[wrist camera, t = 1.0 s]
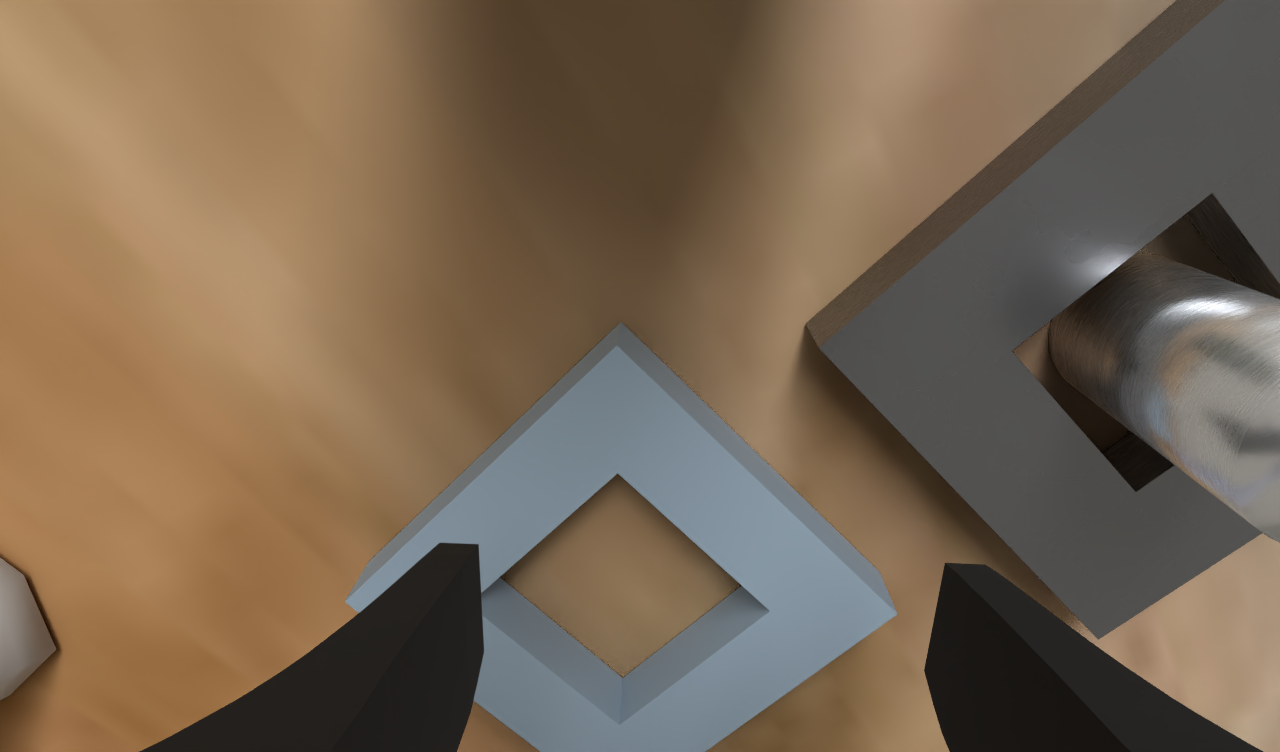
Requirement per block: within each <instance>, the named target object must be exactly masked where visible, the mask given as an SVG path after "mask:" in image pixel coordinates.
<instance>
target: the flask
mask: <svg viewBox="0 0 1280 752" xmlns="http://www.w3.org/2000/svg"><path fill="white" fill-rule="evenodd" d="M55 650H56V647H55V645H54V643H53V641H52V638H51V636H50V634H49V632H48V629H47V627H46V625H45V622H44V620H43V618H42V616H41V613H40V611H39V609H38V607H37V604H36V602H35V600H34V597H33V595H32V593H31V591H30V588H29V586H28V584H27V581H26V579H25V577H24V575H23V574H22V573H20V572H19V571H18V570H16V569H15V568H14V567H12V566H11V565H9V564H8V563H7V562H5V561H4V560H3V559H1V558H0V700H2V699H4V698H6V697H8V696H10V695H11V694H12V693H13V692H14V691H15V690H16V689H17V688H18V687H19V686H20V685H21V684H22V683H23V682H24V681H25V680H26V679H27V678H28V677H29V676H30V675H31V674H32V673H33V672H34V671H35V670H36V669H37V668H38V667H39V666H40V665H41V664H42V663H43V662H44V661H45V660H46V659H47V658H48V657H49V656H50V655H51V654H52V653H53V652H54V651H55Z"/></svg>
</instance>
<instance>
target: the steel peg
mask: <svg viewBox="0 0 1280 752" xmlns="http://www.w3.org/2000/svg"><path fill="white" fill-rule="evenodd" d="M1049 349H1050V354H1051V358H1052V361H1053V363H1054V365H1055V367H1056V369H1057V371H1058V372H1059V373H1060V375H1061V376H1062V377H1063V378H1064V379H1065V380H1066V381H1067V382H1068V383H1069V384H1070V385H1072V386H1073V387H1074V388H1075V389H1077V390H1078V391H1079V392H1081V393H1082V394H1083V395H1085V396H1086V397H1087V398H1088V399H1090V400H1091V401H1092V402H1094V403H1095V404H1096V405H1097V406H1099V407H1100V408H1101V409H1103V410H1104V411H1105V412H1107V413H1108V414H1109V415H1110V416H1112V417H1113V418H1114V419H1116V420H1117V421H1118V422H1120V423H1121V424H1122V425H1123V426H1125V427H1126V428H1127V429H1129V430H1130V431H1131V432H1132V433H1134V434H1135V435H1136V436H1138V437H1139V438H1140V439H1142V440H1143V441H1144V442H1145V443H1147V444H1148V445H1149V446H1151V447H1152V448H1153V449H1155V450H1156V451H1157V452H1158V453H1160V454H1161V455H1162V456H1164V457H1165V458H1166V459H1167V460H1169V461H1170V462H1171V463H1173V464H1174V465H1175V466H1177V467H1178V468H1179V469H1180V470H1182V471H1183V472H1184V473H1186V474H1187V475H1188V476H1190V477H1191V478H1192V479H1193V480H1195V481H1196V482H1197V483H1199V484H1200V485H1201V486H1202V487H1204V488H1205V489H1206V490H1208V491H1209V492H1210V493H1212V494H1213V495H1214V496H1215V497H1217V498H1218V499H1219V500H1221V501H1222V502H1223V503H1225V504H1226V505H1227V506H1228V507H1230V508H1231V509H1232V510H1234V511H1235V512H1236V513H1237V514H1239V515H1240V516H1241V517H1243V518H1244V519H1245V520H1247V521H1248V522H1249V523H1250V524H1252V525H1253V526H1254V527H1256V528H1257V529H1258V530H1260V531H1261V532H1262V533H1264V534H1265V535H1267V536H1268V537H1270V538H1272V539H1274V540H1276V541H1278V542H1280V299H1277V298H1275V297H1272V296H1269V295H1266V294H1264V293H1261V292H1258V291H1256V290H1253V289H1250V288H1248V287H1245V286H1242V285H1239V284H1237V283H1234V282H1231V281H1229V280H1226V279H1223V278H1221V277H1218V276H1215V275H1212V274H1210V273H1207V272H1204V271H1202V270H1199V269H1196V268H1194V267H1191V266H1188V265H1185V264H1183V263H1180V262H1177V261H1175V260H1172V259H1169V258H1166V257H1164V256H1159V255H1155V254H1144V253H1143V254H1134V255H1133V256H1131V257H1130V258H1129V259H1128V260H1126V261H1125V262H1124V263H1123V264H1121V265H1120V266H1119V267H1117V268H1116V269H1115V270H1114V271H1112V272H1111V273H1110V274H1109V275H1107V276H1106V277H1105V278H1103V279H1102V280H1101V281H1100V282H1098V283H1097V284H1096V285H1095V286H1093V287H1092V288H1091V289H1090V290H1088V291H1087V292H1086V293H1084V294H1083V295H1082V296H1081V297H1079V298H1078V299H1077V300H1076V301H1074V302H1073V303H1072V304H1071V305H1069V306H1068V307H1067V308H1065V309H1064V310H1063V311H1062V312H1060V313H1059V314H1058V315H1057V316H1055V317H1054V318H1053V319H1052V321H1051V325H1050V331H1049Z"/></svg>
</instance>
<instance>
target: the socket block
mask: <svg viewBox="0 0 1280 752" xmlns="http://www.w3.org/2000/svg"><path fill="white" fill-rule="evenodd" d="M1185 214H1186V215H1187V217H1188V218H1189V219H1190V220H1191V222H1192V223H1193V224H1194V226H1195V227H1196V228H1197V230H1198V231H1199V232H1200V234H1201V235H1202V236H1203V238H1204V239H1205V240H1206V242H1207V243H1208V244H1209V246H1210V247H1211V248H1212V250H1213V251H1214V252H1215V253H1216V255H1217V256H1218V257H1219V259H1220V260H1221V261H1222V263H1223V264H1224V265H1225V267H1226V268H1227V269H1228V271H1229V272H1230V273H1231V275H1232V276H1233V277H1234V279H1235V280H1236V281H1237V283H1238V284H1239V285H1242V286H1245V287H1248V288H1250V289H1253V290H1256V291H1258V292H1261V293H1264V294H1266V295H1269V296H1272V297H1275V298H1277V299H1280V0H1177V1H1175V2H1174V3H1173V4H1172V5H1171V6H1170V7H1168V8H1167V9H1166V10H1165V11H1164V12H1163V13H1162V14H1160V15H1159V16H1158V17H1157V18H1156V19H1155V20H1154V21H1152V22H1151V23H1150V24H1149V25H1148V26H1147V27H1146V28H1144V29H1143V30H1142V31H1141V32H1140V33H1139V34H1138V35H1136V36H1135V37H1134V38H1133V39H1132V40H1131V41H1130V42H1128V43H1127V44H1126V45H1125V46H1124V47H1123V48H1121V49H1120V50H1119V51H1118V52H1117V53H1116V54H1115V55H1113V56H1112V57H1111V58H1110V59H1109V60H1108V61H1107V62H1105V63H1104V64H1103V65H1102V66H1101V67H1100V68H1099V69H1097V70H1096V71H1095V72H1094V73H1093V74H1092V75H1091V76H1089V77H1088V78H1087V79H1086V80H1085V81H1084V82H1082V83H1081V84H1080V85H1079V86H1078V87H1077V88H1076V89H1074V90H1073V91H1072V92H1071V93H1070V94H1069V95H1068V96H1066V97H1065V98H1064V99H1063V100H1062V101H1061V102H1060V103H1058V104H1057V105H1056V106H1055V107H1054V108H1053V109H1052V110H1050V111H1049V112H1048V113H1047V114H1046V115H1045V116H1044V117H1042V118H1041V119H1040V120H1039V121H1038V122H1037V123H1035V124H1034V125H1033V126H1032V127H1031V128H1030V129H1029V130H1027V131H1026V132H1025V133H1024V134H1023V135H1022V136H1021V137H1019V138H1018V139H1017V140H1016V141H1015V142H1014V143H1013V144H1011V145H1010V146H1009V147H1008V148H1007V149H1006V150H1005V151H1003V152H1002V153H1001V154H1000V155H999V156H998V157H997V158H995V159H994V160H993V161H992V162H991V163H990V164H988V165H987V166H986V167H985V168H984V169H983V170H982V171H980V172H979V173H978V174H977V175H976V176H975V177H974V178H972V179H971V180H970V181H969V182H968V183H967V184H966V185H964V186H963V187H962V188H961V189H960V190H959V191H958V192H956V193H955V194H954V195H953V196H952V197H951V198H950V199H948V200H947V201H946V202H945V203H944V204H943V205H941V206H940V207H939V208H938V209H937V210H936V211H935V212H933V213H932V214H931V215H930V216H929V217H928V218H927V219H925V220H924V221H923V222H922V223H921V224H920V225H919V226H917V227H916V228H915V229H914V230H913V231H912V232H911V233H909V234H908V235H907V236H906V237H905V238H904V239H903V240H901V241H900V242H899V243H898V244H897V245H896V246H894V247H893V248H892V249H891V250H890V251H889V252H888V253H886V254H885V255H884V256H883V257H882V258H881V259H880V260H878V261H877V262H876V263H875V264H874V265H873V266H872V267H870V268H869V269H868V270H867V271H866V272H865V273H864V274H862V275H861V276H860V277H859V278H858V279H857V280H855V281H854V282H853V283H852V284H851V285H850V286H849V287H847V288H846V289H845V290H844V291H843V292H842V293H841V294H839V295H838V296H837V297H836V298H835V299H834V300H833V301H831V302H830V303H829V304H828V305H827V306H826V307H825V308H823V309H822V310H821V311H820V312H819V313H818V314H817V315H815V316H814V317H813V318H812V319H811V320H810V321H808V322H807V323H806V326H807V328H808V329H809V331H810V333H811V335H812V337H813V338H814V340H815V342H816V344H817V346H818V347H819V349H820V350H821V351H822V352H823V353H824V354H825V355H826V356H827V357H828V358H829V359H830V360H831V361H832V362H833V363H834V364H835V366H836V367H837V368H838V369H839V370H840V371H841V372H842V373H843V374H844V375H845V376H846V377H847V378H848V379H849V380H850V381H851V382H852V383H853V384H854V385H855V386H856V387H857V388H858V389H859V391H860V392H861V393H862V394H863V395H864V396H865V397H866V398H867V399H868V400H869V401H870V402H871V403H872V404H873V405H874V406H875V407H876V408H877V409H878V410H879V411H880V412H881V413H882V415H883V416H884V417H885V418H886V419H887V420H888V421H889V422H890V423H891V424H892V425H893V426H894V427H895V428H896V429H897V430H898V431H899V432H900V433H901V434H902V435H903V436H904V437H905V438H906V440H907V441H908V442H909V443H910V444H911V445H912V446H913V447H914V448H915V449H916V450H917V451H918V452H919V453H920V454H921V455H922V456H923V457H924V458H925V459H926V460H927V461H928V462H929V464H930V465H931V466H932V467H933V468H934V469H935V470H936V471H937V472H938V473H939V474H940V475H941V476H942V477H943V478H944V479H945V480H946V481H947V482H948V483H949V484H950V485H951V486H952V488H953V489H954V490H955V491H956V492H957V493H958V494H959V495H960V496H961V497H962V498H963V499H964V500H965V501H966V502H967V503H968V504H969V505H970V506H971V507H972V508H973V509H974V510H975V511H976V513H977V514H978V515H979V516H980V517H981V518H982V519H983V520H984V521H985V522H986V523H987V524H988V525H989V526H990V527H991V528H992V529H993V530H994V531H995V532H996V533H997V534H998V535H999V537H1000V538H1001V539H1002V540H1003V541H1004V542H1005V543H1006V544H1007V545H1008V546H1009V547H1010V548H1011V549H1012V550H1013V551H1014V552H1015V553H1016V554H1017V555H1018V556H1019V557H1020V558H1021V559H1022V560H1023V562H1024V563H1025V564H1026V565H1027V566H1028V567H1029V568H1030V569H1031V570H1032V571H1033V572H1034V573H1035V574H1036V575H1037V576H1038V577H1039V578H1040V579H1041V580H1042V581H1043V582H1044V583H1045V584H1046V586H1047V587H1048V588H1049V589H1050V590H1051V591H1052V592H1053V593H1054V594H1055V595H1056V596H1057V597H1058V598H1059V599H1060V600H1061V601H1062V602H1063V603H1064V604H1065V605H1066V606H1067V607H1068V608H1069V610H1070V611H1071V612H1072V613H1073V614H1074V615H1075V616H1076V617H1077V618H1078V619H1079V620H1080V621H1081V622H1082V623H1083V624H1084V625H1085V626H1086V627H1087V628H1088V629H1089V630H1090V631H1091V632H1092V633H1093V635H1094V636H1095V637H1096V638H1097V639H1100V638H1101V637H1103V636H1105V635H1106V634H1108V633H1109V632H1111V631H1112V630H1114V629H1115V628H1117V627H1118V626H1120V625H1121V624H1123V623H1125V622H1126V621H1128V620H1129V619H1131V618H1132V617H1134V616H1135V615H1137V614H1138V613H1140V612H1141V611H1143V610H1145V609H1146V608H1148V607H1149V606H1151V605H1152V604H1154V603H1155V602H1157V601H1158V600H1160V599H1162V598H1163V597H1165V596H1166V595H1168V594H1169V593H1171V592H1172V591H1174V590H1175V589H1177V588H1178V587H1180V586H1182V585H1183V584H1185V583H1186V582H1188V581H1189V580H1191V579H1192V578H1194V577H1195V576H1197V575H1198V574H1200V573H1202V572H1203V571H1205V570H1206V569H1208V568H1209V567H1211V566H1212V565H1214V564H1215V563H1217V562H1219V561H1220V560H1222V559H1223V558H1225V557H1226V556H1228V555H1229V554H1231V553H1232V552H1234V551H1235V550H1237V549H1239V548H1240V547H1242V546H1243V545H1245V544H1246V543H1248V542H1249V541H1251V540H1252V539H1254V538H1256V537H1257V536H1259V535H1260V534H1262V532H1261V531H1260V530H1258V529H1257V528H1256V527H1254V526H1253V525H1252V524H1250V523H1249V522H1248V521H1247V520H1245V519H1244V518H1243V517H1241V516H1240V515H1239V514H1237V513H1236V512H1235V511H1234V510H1232V509H1231V508H1230V507H1228V506H1227V505H1226V504H1225V503H1223V502H1222V501H1221V500H1219V499H1218V498H1217V497H1215V496H1214V495H1213V494H1212V493H1210V492H1209V491H1208V490H1206V489H1205V488H1204V487H1202V486H1201V485H1200V484H1199V483H1197V482H1196V481H1195V480H1193V479H1192V478H1191V477H1190V476H1188V475H1187V474H1186V473H1184V472H1183V471H1182V470H1180V469H1179V468H1178V467H1177V466H1175V465H1174V464H1173V463H1171V462H1170V461H1169V460H1167V459H1166V458H1165V457H1164V456H1162V455H1161V454H1160V453H1158V452H1157V451H1156V450H1155V449H1153V448H1152V447H1151V446H1149V445H1148V444H1147V443H1145V442H1144V441H1143V440H1142V439H1140V438H1139V437H1138V436H1136V435H1135V434H1134V433H1130V434H1129V435H1127V436H1126V437H1125V438H1123V439H1122V440H1120V441H1119V442H1118V443H1116V444H1115V445H1114V446H1112V447H1111V448H1109V449H1108V450H1107V451H1105V452H1104V453H1101V452H1100V451H1099V450H1098V449H1097V447H1096V446H1095V445H1094V444H1093V443H1092V442H1091V441H1090V439H1089V438H1088V437H1087V436H1086V435H1085V434H1084V433H1083V431H1082V430H1081V429H1080V428H1079V427H1078V426H1077V425H1076V423H1075V422H1074V421H1073V420H1072V419H1071V418H1070V417H1069V415H1068V414H1067V413H1066V412H1065V411H1064V410H1063V409H1062V408H1061V406H1060V405H1059V404H1058V403H1057V402H1056V401H1055V400H1054V398H1053V397H1052V396H1051V395H1050V394H1049V393H1048V392H1047V390H1046V389H1045V388H1044V387H1043V386H1042V385H1041V384H1040V382H1039V381H1038V380H1037V379H1036V378H1035V377H1034V376H1033V374H1032V373H1031V372H1030V371H1029V370H1028V369H1027V368H1026V366H1025V365H1024V364H1023V363H1022V362H1021V361H1020V360H1019V358H1018V357H1017V356H1016V355H1015V354H1014V353H1013V352H1012V350H1013V349H1015V348H1016V347H1017V346H1019V345H1020V344H1021V343H1022V342H1024V341H1025V340H1026V339H1027V338H1029V337H1030V336H1031V335H1032V334H1034V333H1035V332H1036V331H1038V330H1039V329H1040V328H1041V327H1043V326H1044V325H1045V324H1046V323H1048V322H1049V321H1050V320H1052V319H1053V318H1054V317H1055V316H1057V315H1058V314H1059V313H1060V312H1062V311H1063V310H1064V309H1065V308H1067V307H1068V306H1069V305H1071V304H1072V303H1073V302H1074V301H1076V300H1077V299H1078V298H1079V297H1081V296H1082V295H1083V294H1084V293H1086V292H1087V291H1088V290H1090V289H1091V288H1092V287H1093V286H1095V285H1096V284H1097V283H1098V282H1100V281H1101V280H1102V279H1103V278H1105V277H1106V276H1107V275H1109V274H1110V273H1111V272H1112V271H1114V270H1115V269H1116V268H1117V267H1119V266H1120V265H1121V264H1123V263H1124V262H1125V261H1126V260H1128V259H1129V258H1130V257H1131V256H1133V255H1134V254H1135V253H1136V252H1138V251H1139V250H1140V249H1142V248H1143V247H1144V246H1145V245H1147V244H1148V243H1149V242H1150V241H1152V240H1153V239H1154V238H1155V237H1157V236H1158V235H1159V234H1161V233H1162V232H1163V231H1164V230H1166V229H1167V228H1168V227H1169V226H1171V225H1172V224H1173V223H1174V222H1176V221H1177V220H1178V219H1180V218H1181V217H1182V216H1183V215H1185Z"/></svg>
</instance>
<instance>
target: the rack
mask: <svg viewBox="0 0 1280 752" xmlns="http://www.w3.org/2000/svg"><path fill="white" fill-rule="evenodd" d="M617 473H618V474H619V475H620V476H621V477H622V478H623V479H625V480H626V481H627V482H628V483H629V484H630V485H631V486H632V487H633V488H635V489H636V490H637V491H638V492H639V493H640V494H641V495H642V496H643V497H644V498H646V499H647V500H648V501H649V502H650V503H651V504H652V505H653V506H654V507H656V508H657V509H658V510H659V511H660V512H661V513H662V514H663V515H664V516H665V517H667V518H668V519H669V520H670V521H671V522H672V523H673V524H674V525H675V526H677V527H678V528H679V529H680V530H681V531H682V532H683V533H684V534H685V535H686V536H688V537H689V538H690V539H691V540H692V541H693V542H694V543H695V544H696V545H697V546H699V547H700V548H701V549H702V550H703V551H704V552H705V553H706V554H707V555H709V556H710V557H711V558H712V559H713V560H714V561H715V562H716V563H717V564H718V565H720V566H721V567H722V568H723V569H724V570H725V571H726V572H727V573H728V574H730V575H731V576H732V577H733V578H734V579H735V580H736V581H737V582H738V583H739V584H741V585H742V586H740V587H739V588H738V589H736V590H735V591H734V592H733V593H731V594H730V595H729V596H727V597H726V598H725V599H724V600H722V601H721V602H720V603H718V604H717V605H716V606H715V607H713V608H712V609H711V610H709V611H708V612H707V613H706V614H704V615H703V616H702V617H701V618H699V619H698V620H697V621H695V622H694V623H693V624H692V625H690V626H689V627H688V628H686V629H685V630H684V631H683V632H681V633H680V634H679V635H677V636H676V637H675V638H674V639H672V640H671V641H670V642H668V643H667V644H666V645H665V646H663V647H662V648H661V649H659V650H658V651H657V652H656V653H654V654H653V655H652V656H650V657H649V658H648V659H647V660H645V661H644V662H643V663H641V664H640V665H639V666H638V667H636V668H635V669H634V670H632V671H631V672H630V673H629V674H627V675H626V676H625V677H623V678H622V677H621V676H619V675H618V674H617V673H616V672H615V671H613V670H612V669H611V668H610V667H608V666H607V665H606V664H605V663H604V662H602V661H601V660H600V659H599V658H598V657H596V656H595V655H594V654H593V653H591V652H590V651H589V650H588V649H587V648H585V647H584V646H583V645H582V644H580V643H579V642H578V641H577V640H576V639H574V638H573V637H572V636H571V635H570V634H568V633H567V632H566V631H565V630H563V629H562V628H561V627H560V626H559V625H557V624H556V623H555V622H554V621H553V620H551V619H550V618H549V617H548V616H546V615H545V614H544V613H543V612H542V611H540V610H539V609H538V608H537V607H536V606H534V605H533V604H532V603H531V602H529V601H528V600H527V599H526V598H525V597H523V596H522V595H521V594H520V593H519V592H517V591H516V590H515V589H514V588H512V587H511V586H510V585H509V584H508V583H506V582H505V581H504V580H503V579H501V578H500V576H501V575H503V574H504V573H505V572H506V571H507V570H508V569H509V568H511V567H512V566H513V565H514V564H515V563H516V562H517V561H519V560H520V559H521V558H522V557H523V556H524V555H525V554H527V553H528V552H529V551H530V550H531V549H532V548H533V547H534V546H536V545H537V544H538V543H539V542H540V541H541V540H542V539H544V538H545V537H546V536H547V535H548V534H549V533H550V532H552V531H553V530H554V529H555V528H556V527H557V526H558V525H559V524H561V523H562V522H563V521H564V520H565V519H566V518H567V517H569V516H570V515H571V514H572V513H573V512H574V511H575V510H577V509H578V508H579V507H580V506H581V505H582V504H583V503H585V502H586V501H587V500H588V499H589V498H590V497H591V496H592V495H594V494H595V493H596V492H597V491H598V490H599V489H600V488H602V487H603V486H604V485H605V484H606V483H607V482H608V481H610V480H611V479H612V478H613V477H614V476H615V475H616V474H617ZM439 543H462V544H479V561H480V581H481V600H482V619H483V638H484V655H483V659H482V664H481V669H480V673H479V678H478V683H477V687H476V691H475V696H474V700H473V701H475V702H476V703H477V704H479V705H480V706H481V707H483V708H484V709H485V710H487V711H488V712H489V713H490V714H492V715H493V716H494V717H496V718H497V719H498V720H500V721H501V722H502V723H503V724H505V725H506V726H507V727H509V728H510V729H511V730H513V731H514V732H515V733H517V734H518V735H519V736H520V737H522V738H523V739H524V740H526V741H527V742H528V743H530V744H531V745H532V746H534V747H535V748H536V749H537V750H539V751H540V752H705V751H707V750H708V749H710V748H711V747H712V746H714V745H715V744H717V743H718V742H719V741H721V740H722V739H724V738H725V737H726V736H728V735H729V734H731V733H732V732H733V731H735V730H736V729H737V728H739V727H740V726H742V725H743V724H744V723H746V722H747V721H749V720H750V719H751V718H753V717H754V716H756V715H757V714H758V713H760V712H761V711H763V710H764V709H765V708H767V707H768V706H770V705H771V704H772V703H774V702H775V701H777V700H778V699H779V698H781V697H782V696H784V695H785V694H786V693H788V692H789V691H791V690H792V689H793V688H795V687H796V686H798V685H799V684H800V683H802V682H803V681H805V680H806V679H807V678H809V677H810V676H812V675H813V674H814V673H816V672H817V671H819V670H820V669H821V668H823V667H824V666H826V665H827V664H828V663H830V662H831V661H833V660H834V659H835V658H837V657H838V656H840V655H841V654H842V653H844V652H845V651H847V650H848V649H849V648H851V647H852V646H854V645H855V644H856V643H858V642H859V641H861V640H862V639H863V638H865V637H866V636H868V635H869V634H870V633H872V632H873V631H875V630H876V629H877V628H879V627H880V626H882V625H883V624H884V623H886V622H887V621H889V620H890V619H891V618H893V617H894V616H895V615H897V612H896V609H895V607H894V605H893V602H892V600H891V598H890V595H889V593H888V591H887V588H886V586H885V584H884V581H883V579H882V577H881V574H880V572H879V571H878V570H877V569H876V568H875V567H874V566H873V565H872V564H871V563H870V562H869V561H868V560H867V559H866V558H865V557H863V556H862V555H861V554H860V553H859V552H858V551H857V550H856V549H855V548H854V547H853V546H852V545H851V544H850V543H849V542H848V541H847V540H846V539H845V538H844V537H843V536H842V535H841V534H840V533H839V532H838V531H837V530H836V529H835V528H834V527H833V526H831V525H830V524H829V523H828V522H827V521H826V520H825V519H824V518H823V517H822V516H821V515H820V514H819V513H818V512H817V511H816V510H815V509H814V508H813V507H812V506H811V505H810V504H809V503H808V502H807V501H806V500H805V499H804V498H803V497H802V496H801V495H799V494H798V493H797V492H796V491H795V490H794V489H793V488H792V487H791V486H790V485H789V484H788V483H787V482H786V481H785V480H784V479H783V478H782V477H781V476H780V475H779V474H778V473H777V472H776V471H775V470H774V469H773V468H772V467H771V466H770V465H769V464H767V463H766V462H765V461H764V460H763V459H762V458H761V457H760V456H759V455H758V454H757V453H756V452H755V451H754V450H753V449H752V448H751V447H750V446H749V445H748V444H747V443H746V442H745V441H744V440H743V439H742V438H741V437H740V436H739V435H738V434H737V433H735V432H734V431H733V430H732V429H731V428H730V427H729V426H728V425H727V424H726V423H725V422H724V421H723V420H722V419H721V418H720V417H719V416H718V415H717V414H716V413H715V412H714V411H713V410H712V409H711V408H710V407H709V406H708V405H707V404H706V403H705V402H703V401H702V400H701V399H700V398H699V397H698V396H697V395H696V394H695V393H694V392H693V391H692V390H691V389H690V388H689V387H688V386H687V385H686V384H685V383H684V382H683V381H682V380H681V379H680V378H679V377H678V376H677V375H676V374H675V373H674V372H673V371H671V370H670V369H669V368H668V367H667V366H666V365H665V364H664V363H663V362H662V361H661V360H660V359H659V358H658V357H657V356H656V355H655V354H654V353H653V352H652V351H651V350H650V349H649V348H648V347H647V346H646V345H645V344H644V343H643V342H642V341H641V340H639V339H638V338H637V337H636V336H635V335H634V334H633V333H632V332H631V331H630V330H629V329H628V328H627V327H626V326H625V325H624V324H623V323H622V322H620V323H619V324H618V325H617V326H616V327H615V328H614V329H613V330H612V331H611V332H610V333H609V334H608V335H607V336H606V337H605V338H603V339H602V340H601V341H600V342H599V343H598V344H597V345H596V346H595V347H594V348H593V349H592V350H591V351H590V352H589V353H588V354H587V355H586V356H585V357H584V358H582V359H581V360H580V361H579V362H578V363H577V364H576V365H575V366H574V367H573V368H572V369H571V370H570V371H569V372H568V373H567V374H566V375H565V376H564V377H562V378H561V379H560V380H559V381H558V382H557V383H556V384H555V385H554V386H553V387H552V388H551V389H550V390H549V391H548V392H547V393H546V394H545V395H544V396H542V397H541V398H540V399H539V400H538V401H537V402H536V403H535V404H534V405H533V406H532V407H531V408H530V409H529V410H528V411H527V412H526V413H525V414H524V415H522V416H521V417H520V418H519V419H518V420H517V421H516V422H515V423H514V424H513V425H512V426H511V427H510V428H509V429H508V430H507V431H506V432H505V433H504V434H503V435H501V436H500V437H499V438H498V439H497V440H496V441H495V442H494V443H493V444H492V445H491V446H490V447H489V448H488V449H487V450H486V451H485V452H484V453H483V454H481V455H480V456H479V457H478V458H477V459H476V460H475V461H474V462H473V463H472V464H471V465H470V466H469V467H468V468H467V469H466V470H465V471H464V472H463V473H461V474H460V475H459V476H458V477H457V478H456V479H455V480H454V481H453V482H452V483H451V484H450V485H449V486H448V487H447V488H446V489H445V490H444V491H443V492H441V493H440V494H439V495H438V496H437V497H436V498H435V499H434V500H433V501H432V502H431V503H430V504H429V505H428V506H427V507H426V508H425V509H424V510H423V511H422V512H420V513H419V514H418V515H417V516H416V517H415V518H414V519H413V520H412V521H411V522H410V523H409V524H408V525H407V526H406V527H405V528H404V529H403V530H402V531H400V532H399V533H398V534H397V535H396V536H395V537H394V538H393V539H392V540H391V541H390V542H389V543H388V544H387V545H386V546H385V547H384V548H383V549H382V550H380V551H379V552H378V553H377V554H376V555H375V556H374V557H373V558H372V559H371V560H370V561H369V562H368V564H367V566H366V567H365V569H364V571H363V572H362V574H361V575H360V577H359V579H358V580H357V582H356V584H355V585H354V587H353V589H352V590H351V592H350V594H349V595H348V597H347V599H346V600H345V602H346V603H347V604H348V605H350V606H351V607H352V608H353V609H355V610H356V611H357V612H359V613H360V612H361V611H362V610H363V609H364V608H366V607H367V606H368V605H369V604H370V603H372V602H373V601H374V600H375V599H376V598H377V597H379V596H380V595H381V594H382V593H383V592H384V591H386V590H387V589H388V588H389V587H390V586H391V585H392V584H393V583H395V582H396V581H397V580H398V579H399V578H400V577H401V576H402V575H404V574H405V573H406V572H407V571H408V570H409V569H410V568H411V567H412V566H414V565H415V564H416V563H417V562H418V561H419V560H420V559H421V558H423V557H424V556H425V555H426V554H427V553H428V552H429V551H431V550H432V549H433V548H434V547H435V546H436V545H438V544H439Z"/></svg>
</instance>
